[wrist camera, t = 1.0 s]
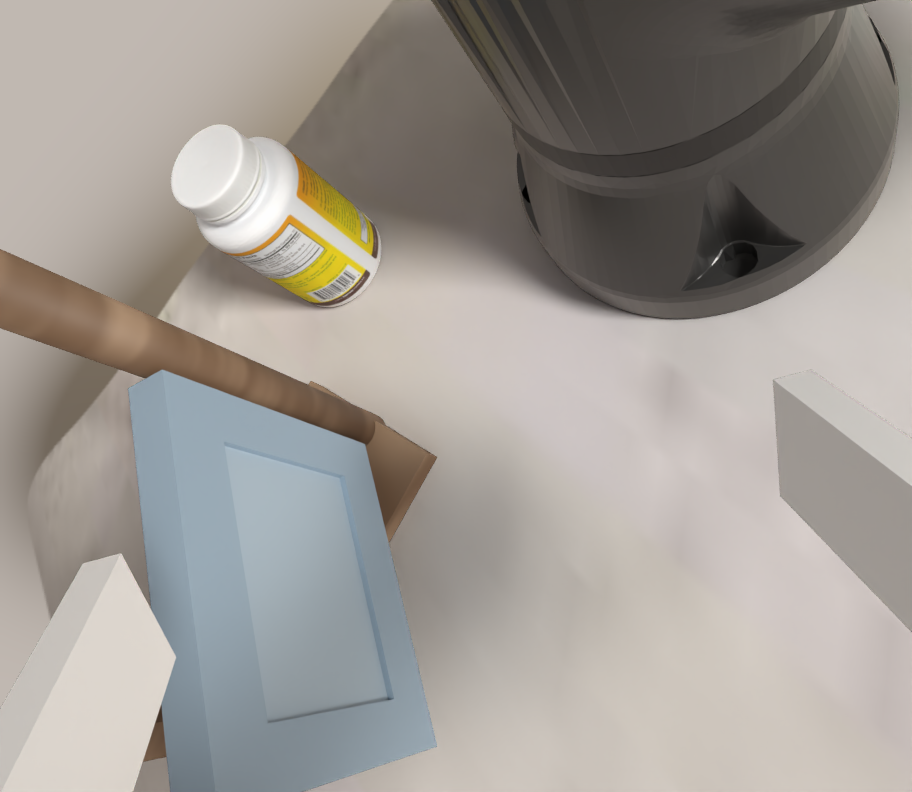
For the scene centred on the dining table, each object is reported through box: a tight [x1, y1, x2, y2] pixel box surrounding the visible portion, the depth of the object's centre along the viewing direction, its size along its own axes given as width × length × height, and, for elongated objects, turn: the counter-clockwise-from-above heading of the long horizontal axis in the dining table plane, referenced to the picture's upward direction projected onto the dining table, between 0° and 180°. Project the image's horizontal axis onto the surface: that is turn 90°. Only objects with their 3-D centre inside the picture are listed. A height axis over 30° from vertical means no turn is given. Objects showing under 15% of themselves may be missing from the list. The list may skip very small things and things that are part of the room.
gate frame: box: [0, 249, 437, 762], centre depth 27 cm, size 18×8×22 cm, turn 148°
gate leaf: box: [128, 370, 437, 792], centre depth 27 cm, size 13×2×12 cm, turn 18°
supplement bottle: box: [171, 124, 381, 307], centre depth 36 cm, size 6×6×10 cm
